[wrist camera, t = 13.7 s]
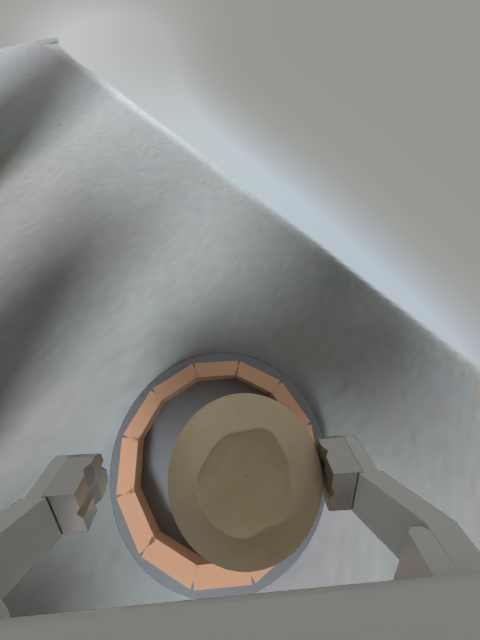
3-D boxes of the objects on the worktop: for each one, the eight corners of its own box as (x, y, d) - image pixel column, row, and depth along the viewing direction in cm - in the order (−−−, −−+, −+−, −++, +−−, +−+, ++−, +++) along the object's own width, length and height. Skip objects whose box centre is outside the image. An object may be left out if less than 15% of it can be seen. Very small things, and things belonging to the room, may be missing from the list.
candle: (231, 394, 19) (226, 356, 10) (299, 443, 18) (367, 453, 8) (181, 466, 17) (116, 505, 8) (252, 527, 16) (275, 658, 6)
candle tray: (103, 600, 15) (81, 628, 13) (129, 362, 21) (116, 353, 19) (342, 577, 16) (359, 600, 14) (304, 352, 21) (312, 343, 19)
